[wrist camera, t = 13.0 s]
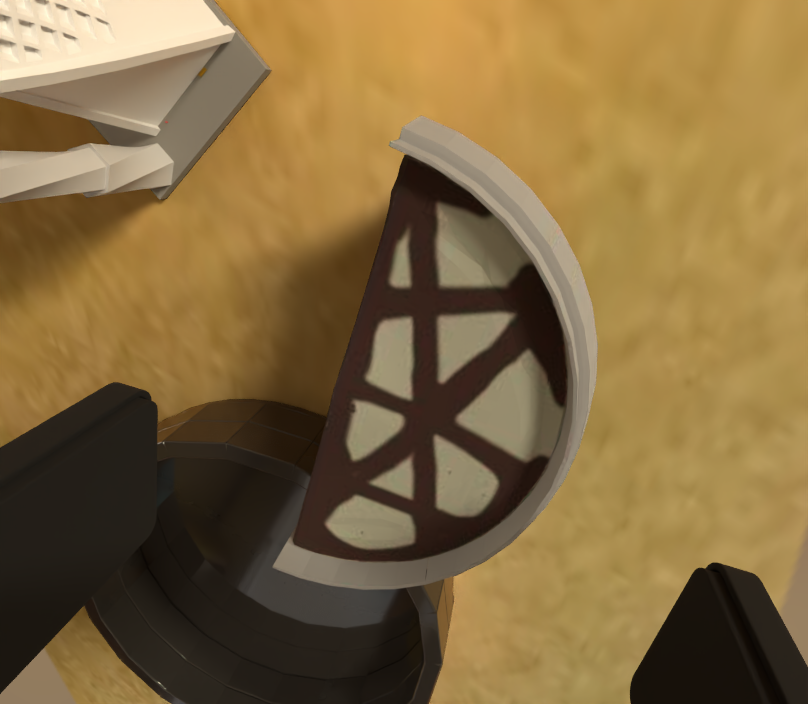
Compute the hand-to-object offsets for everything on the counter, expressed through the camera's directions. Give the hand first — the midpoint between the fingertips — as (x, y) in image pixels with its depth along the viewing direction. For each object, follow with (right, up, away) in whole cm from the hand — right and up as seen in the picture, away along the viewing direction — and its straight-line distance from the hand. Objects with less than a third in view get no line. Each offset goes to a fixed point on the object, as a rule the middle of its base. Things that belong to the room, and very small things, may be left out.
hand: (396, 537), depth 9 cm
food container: (+3, +5, +12) cm, 13 cm away
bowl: (-6, -8, +19) cm, 22 cm away
